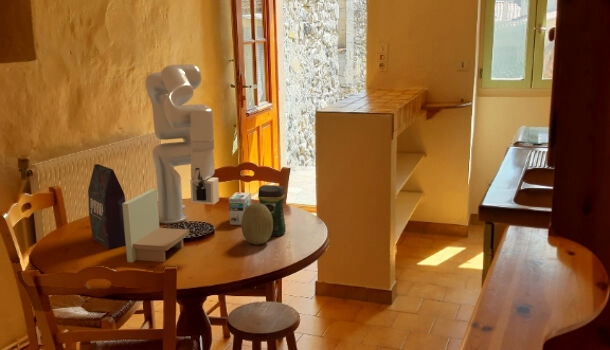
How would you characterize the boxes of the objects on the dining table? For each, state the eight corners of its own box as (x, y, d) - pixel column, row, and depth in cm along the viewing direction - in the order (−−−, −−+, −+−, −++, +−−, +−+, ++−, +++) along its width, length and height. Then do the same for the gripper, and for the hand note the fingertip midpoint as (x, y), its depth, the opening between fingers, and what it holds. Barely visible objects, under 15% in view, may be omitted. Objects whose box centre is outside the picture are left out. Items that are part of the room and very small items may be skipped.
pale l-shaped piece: (155, 242, 217) (151, 189, 212) (191, 244, 214) (188, 190, 209) (127, 261, 198) (122, 203, 193) (166, 264, 195) (162, 205, 190)
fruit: (253, 236, 222) (252, 197, 218) (279, 240, 216) (278, 201, 213) (235, 245, 212) (234, 205, 209) (262, 250, 207) (261, 208, 203)
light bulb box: (245, 225, 236) (244, 199, 233) (229, 224, 237) (228, 198, 234) (252, 217, 246) (251, 192, 244) (236, 217, 247) (235, 192, 245)
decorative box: (108, 249, 210) (101, 171, 204) (90, 238, 222) (83, 165, 216) (130, 244, 215) (124, 168, 209) (111, 234, 227) (105, 161, 221)
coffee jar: (287, 231, 228) (286, 183, 224) (281, 237, 220) (280, 188, 216) (263, 229, 230) (262, 182, 226) (256, 235, 223) (255, 187, 218)
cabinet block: (197, 198, 206) (196, 176, 204) (219, 200, 204) (218, 177, 202) (191, 203, 201) (190, 180, 199) (213, 204, 199) (212, 181, 197)
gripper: (202, 139, 207) (204, 190, 211) (181, 149, 191) (184, 204, 195) (222, 140, 205) (224, 191, 210) (203, 150, 189) (205, 205, 193)
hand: (204, 197), depth 202 cm, fingers closed on cabinet block, 5 cm apart
